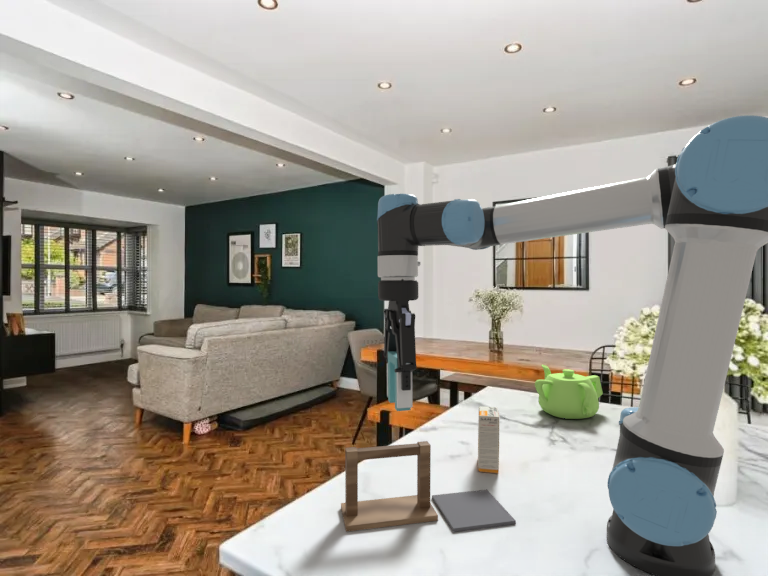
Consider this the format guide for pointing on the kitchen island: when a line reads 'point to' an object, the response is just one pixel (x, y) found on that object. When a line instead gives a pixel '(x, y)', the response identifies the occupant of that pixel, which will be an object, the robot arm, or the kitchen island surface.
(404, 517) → the stand
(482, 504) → the coaster
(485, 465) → the supplement box
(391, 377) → the teal u-shaped block
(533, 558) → the kitchen island surface
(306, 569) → the kitchen island surface
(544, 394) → the teapot
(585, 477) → the kitchen island surface
